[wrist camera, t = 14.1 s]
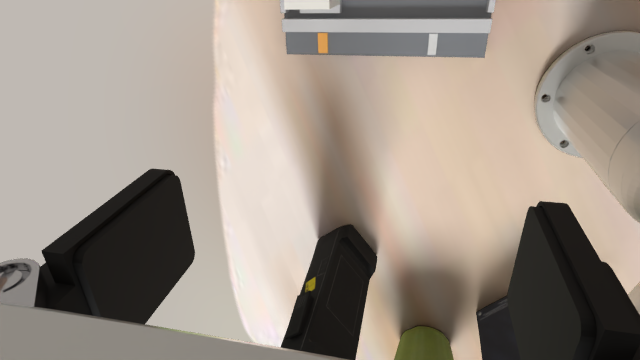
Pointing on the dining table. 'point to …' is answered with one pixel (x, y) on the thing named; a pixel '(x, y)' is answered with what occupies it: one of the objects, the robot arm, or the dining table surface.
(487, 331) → the small box
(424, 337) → the plant pot
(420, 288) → the dining table surface
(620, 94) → the robot arm
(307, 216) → the dining table surface
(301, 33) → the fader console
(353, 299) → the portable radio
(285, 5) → the fader tab
